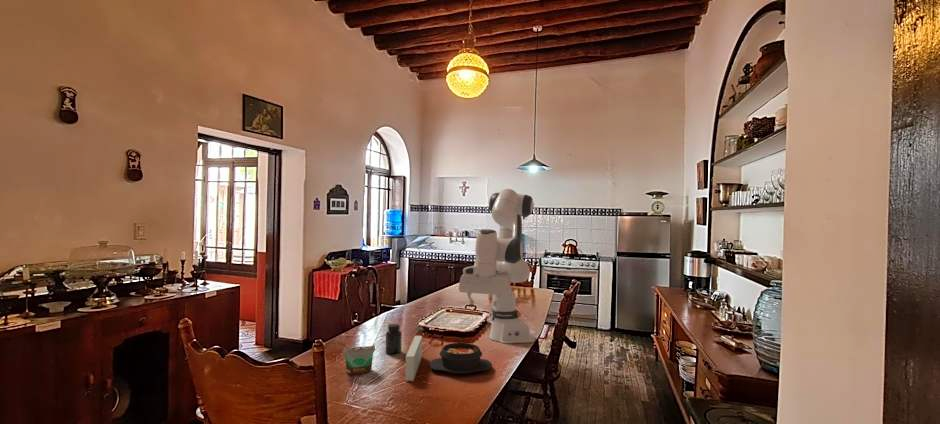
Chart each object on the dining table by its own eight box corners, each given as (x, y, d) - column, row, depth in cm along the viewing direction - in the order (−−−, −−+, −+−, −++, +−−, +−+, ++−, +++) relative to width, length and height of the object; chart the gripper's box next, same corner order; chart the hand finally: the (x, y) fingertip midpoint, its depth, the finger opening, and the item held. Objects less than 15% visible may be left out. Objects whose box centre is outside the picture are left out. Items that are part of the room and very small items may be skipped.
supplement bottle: (395, 348, 198) (395, 322, 197) (404, 352, 193) (404, 325, 193) (382, 352, 193) (382, 325, 192) (391, 356, 188) (392, 328, 188)
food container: (345, 379, 162) (346, 352, 162) (342, 373, 168) (343, 347, 168) (378, 373, 168) (379, 347, 168) (374, 368, 173) (374, 343, 173)
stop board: (421, 356, 188) (422, 335, 188) (413, 380, 162) (413, 356, 162) (414, 356, 188) (415, 335, 188) (405, 380, 162) (405, 356, 162)
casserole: (490, 361, 184) (491, 341, 184) (493, 378, 165) (493, 356, 165) (431, 360, 184) (431, 340, 184) (426, 377, 165) (427, 355, 165)
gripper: (511, 271, 177) (509, 305, 176) (461, 267, 179) (459, 301, 179) (511, 272, 171) (509, 308, 170) (459, 269, 173) (457, 304, 173)
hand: (483, 305), depth 174 cm, fingers open, 8 cm apart
